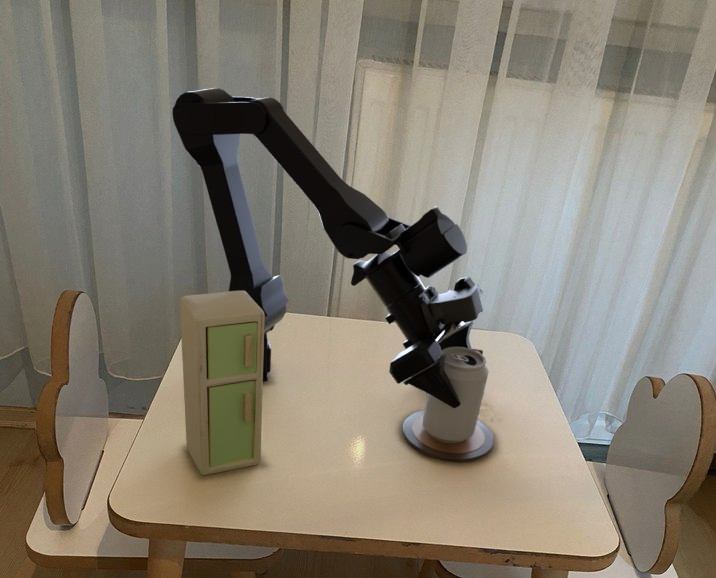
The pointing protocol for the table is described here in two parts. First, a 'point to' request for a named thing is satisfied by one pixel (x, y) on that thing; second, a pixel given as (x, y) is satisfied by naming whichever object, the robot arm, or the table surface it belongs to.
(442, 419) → the can
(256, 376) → the toy refrigerator
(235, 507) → the table surface
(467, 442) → the coaster
